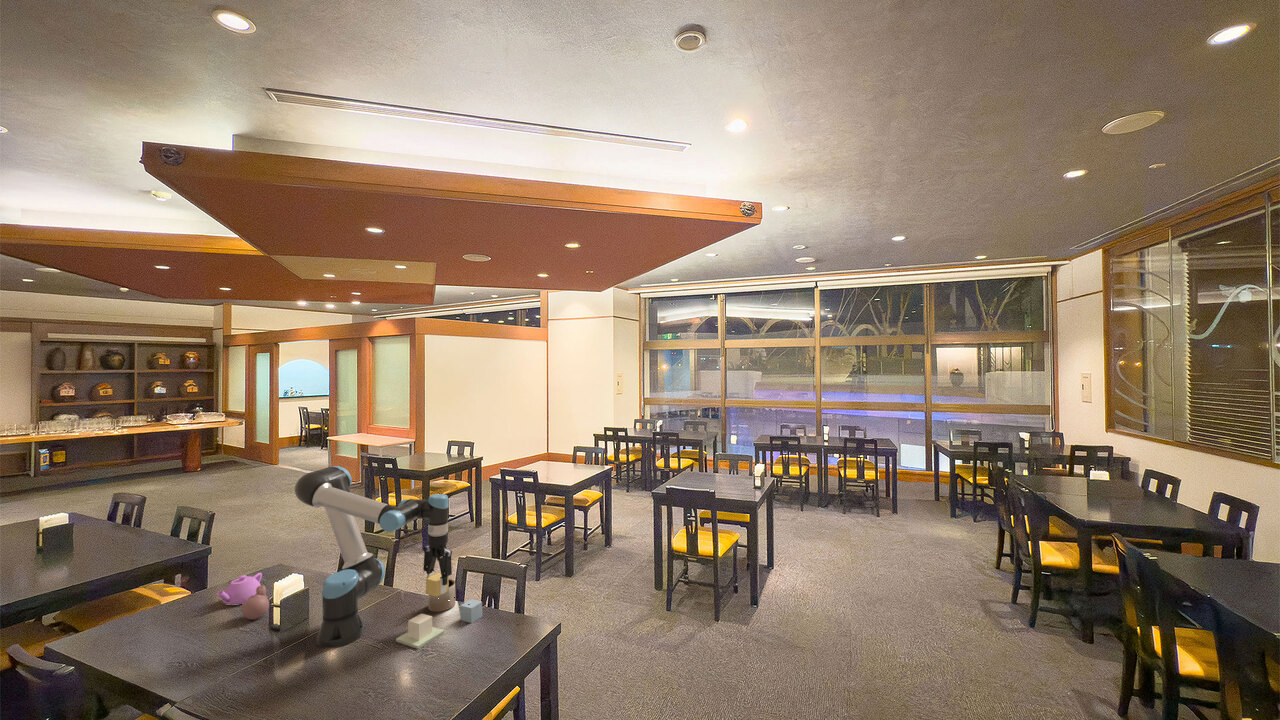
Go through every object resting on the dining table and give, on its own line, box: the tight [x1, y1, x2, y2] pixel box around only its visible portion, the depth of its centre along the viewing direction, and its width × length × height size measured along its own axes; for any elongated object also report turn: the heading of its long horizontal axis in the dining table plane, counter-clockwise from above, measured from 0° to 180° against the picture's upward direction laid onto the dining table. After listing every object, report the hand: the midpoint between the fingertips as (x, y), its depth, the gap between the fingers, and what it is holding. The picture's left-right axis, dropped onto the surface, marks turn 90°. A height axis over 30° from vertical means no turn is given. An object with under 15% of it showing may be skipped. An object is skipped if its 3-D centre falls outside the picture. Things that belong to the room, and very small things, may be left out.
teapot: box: [216, 572, 263, 605], centre depth 218 cm, size 14×20×11 cm
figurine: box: [240, 585, 270, 620], centre depth 202 cm, size 9×11×12 cm
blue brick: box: [459, 598, 483, 624], centre depth 200 cm, size 6×6×6 cm
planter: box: [427, 578, 456, 613], centre depth 210 cm, size 11×11×10 cm
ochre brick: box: [425, 572, 450, 597], centre depth 197 cm, size 6×6×6 cm
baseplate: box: [395, 613, 445, 650], centre depth 186 cm, size 12×12×7 cm
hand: (437, 590), depth 197 cm, fingers closed on ochre brick, 6 cm apart
